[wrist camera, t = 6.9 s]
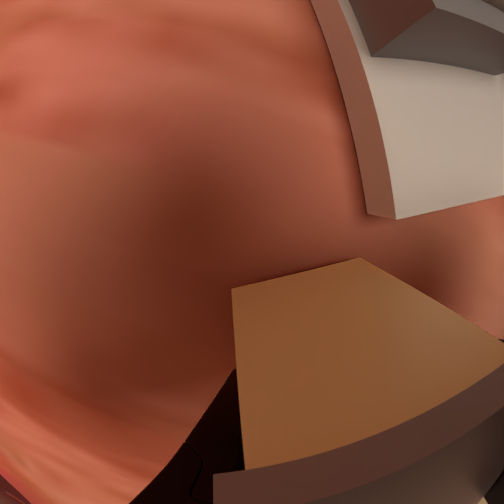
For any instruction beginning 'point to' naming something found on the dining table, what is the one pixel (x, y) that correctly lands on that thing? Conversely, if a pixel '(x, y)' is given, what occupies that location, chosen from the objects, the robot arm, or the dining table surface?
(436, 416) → the cap
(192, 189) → the dining table surface
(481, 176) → the panel
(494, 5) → the breaker button
